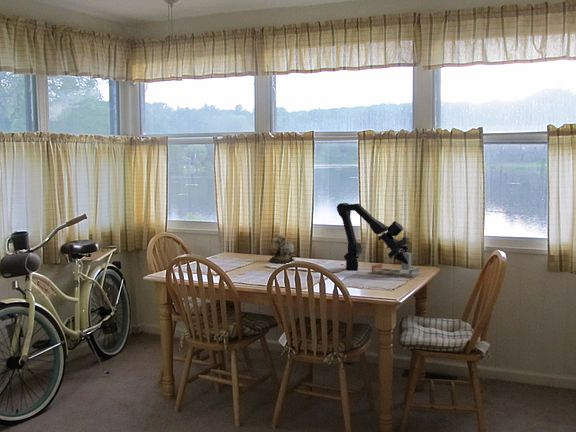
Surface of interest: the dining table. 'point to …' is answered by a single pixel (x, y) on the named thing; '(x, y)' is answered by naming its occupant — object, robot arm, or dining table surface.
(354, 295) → the dining table surface
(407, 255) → the carriage
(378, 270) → the track
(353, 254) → the robot arm
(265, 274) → the dining table surface
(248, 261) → the dining table surface
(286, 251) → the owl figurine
